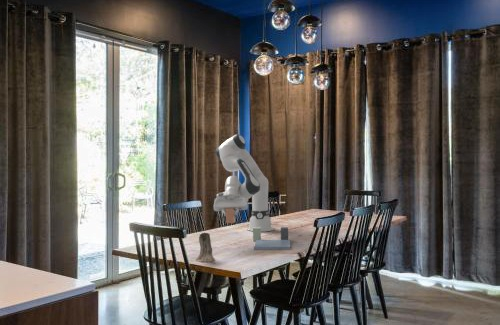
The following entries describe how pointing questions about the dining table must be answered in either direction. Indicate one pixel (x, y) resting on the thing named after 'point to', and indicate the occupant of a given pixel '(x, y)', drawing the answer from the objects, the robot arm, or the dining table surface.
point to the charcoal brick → (284, 233)
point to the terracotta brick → (230, 216)
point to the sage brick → (256, 233)
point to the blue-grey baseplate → (272, 244)
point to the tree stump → (205, 248)
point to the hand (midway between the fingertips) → (230, 215)
